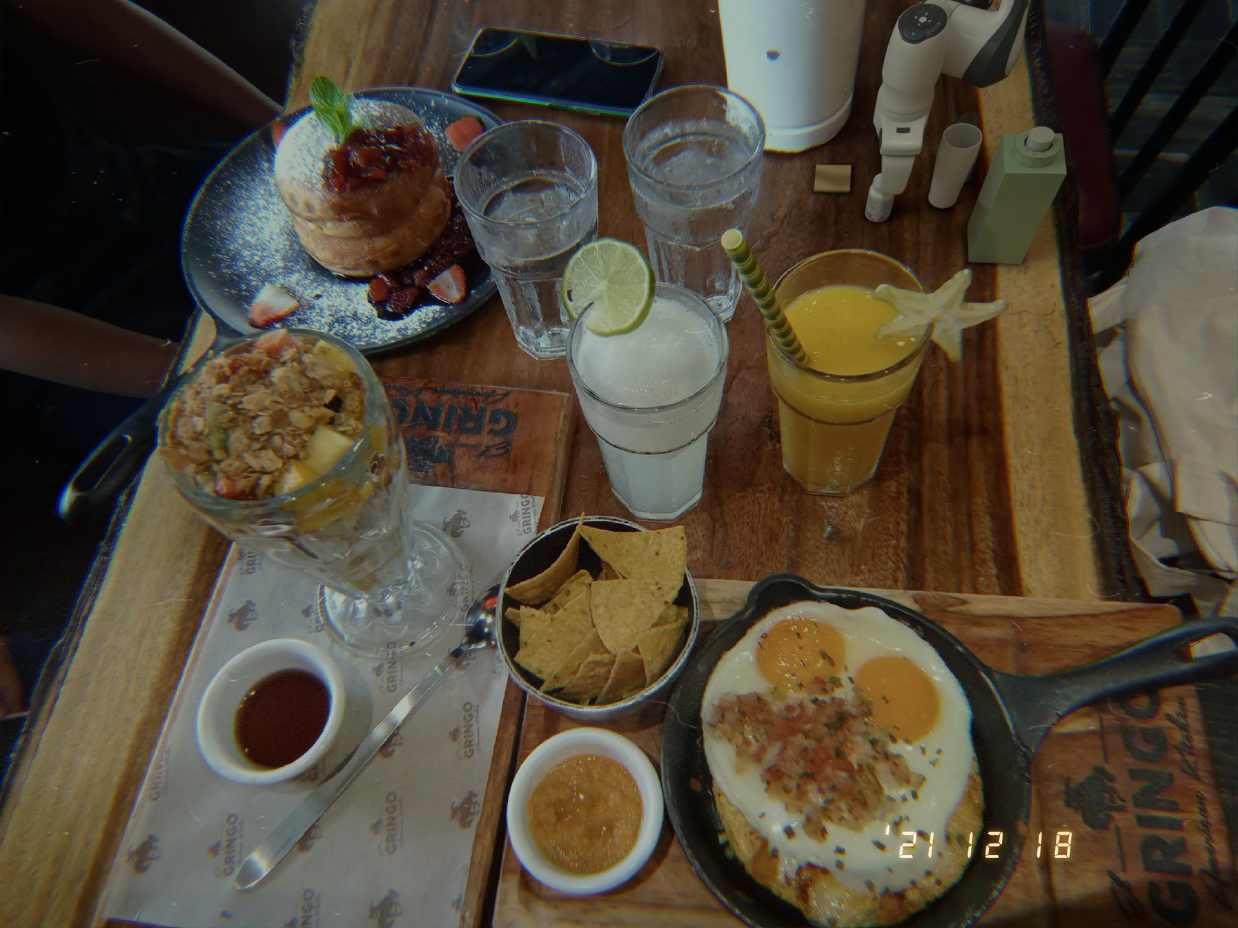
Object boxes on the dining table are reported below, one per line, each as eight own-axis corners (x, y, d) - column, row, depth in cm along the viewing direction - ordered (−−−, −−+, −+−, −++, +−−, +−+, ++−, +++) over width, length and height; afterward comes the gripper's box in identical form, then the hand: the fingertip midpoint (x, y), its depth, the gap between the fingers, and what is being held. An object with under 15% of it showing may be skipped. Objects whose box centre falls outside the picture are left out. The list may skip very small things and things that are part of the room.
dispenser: (967, 225, 139) (1006, 123, 119) (1018, 226, 138) (1067, 123, 117) (968, 262, 136) (1009, 163, 115) (1021, 264, 134) (1072, 163, 113)
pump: (1024, 137, 118) (1029, 126, 116) (1049, 137, 117) (1053, 126, 115) (1025, 153, 116) (1030, 142, 114) (1050, 153, 116) (1055, 142, 114)
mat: (815, 167, 152) (816, 164, 151) (850, 167, 150) (851, 165, 150) (813, 192, 149) (814, 189, 148) (849, 192, 147) (849, 190, 147)
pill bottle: (891, 205, 144) (899, 172, 137) (888, 224, 142) (896, 190, 135) (866, 203, 145) (873, 170, 138) (863, 221, 143) (870, 188, 136)
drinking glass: (916, 194, 144) (934, 131, 131) (947, 182, 145) (969, 117, 131) (935, 217, 141) (956, 154, 128) (967, 204, 142) (991, 140, 128)
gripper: (883, 71, 128) (870, 137, 140) (881, 154, 119) (868, 217, 132) (921, 70, 127) (905, 137, 139) (922, 154, 118) (905, 217, 130)
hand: (887, 177), depth 135 cm, fingers open, 8 cm apart
